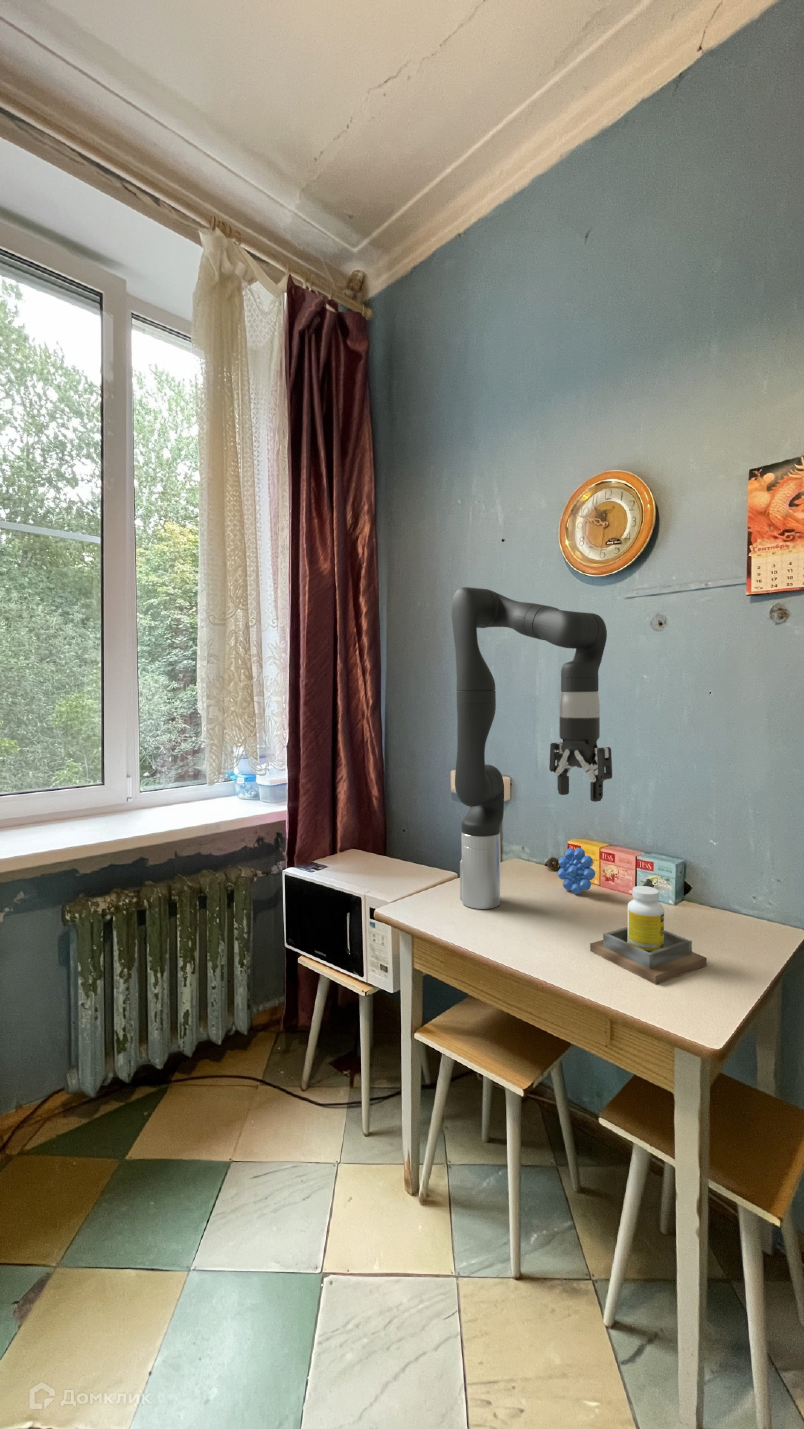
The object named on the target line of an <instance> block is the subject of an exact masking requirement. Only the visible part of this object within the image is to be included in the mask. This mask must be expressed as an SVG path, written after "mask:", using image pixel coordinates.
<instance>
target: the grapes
mask: <svg viewBox="0 0 804 1429" xmlns="http://www.w3.org/2000/svg"><path fill="white" fill-rule="evenodd" d="M593 860H594V859H593V858H592V856H590V855H586V852H585V850H584V849H583V847H577V848H575V849H574V848H571V847H569V848H567V849H566V850H565V852H564V855H562V856H561V857H560V858H559V860H558V865H559V866H560V868H559V870H558V872H557V876H558V878H559V879H560V880H563V882H562V886H563V889H565V890H566V891H571V892H572V894H574V895H576V894H577V895H580V894H581V893H582V892H583V891H585V892H586V891H589V890H590V889H591V886H592V880H594V878H595V876H596V871H595V869H594V868H592V866H593V864H594V863H593V862H594V861H593Z"/></svg>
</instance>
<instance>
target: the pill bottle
mask: <svg viewBox="0 0 804 1429" xmlns="http://www.w3.org/2000/svg"><path fill="white" fill-rule="evenodd" d="M631 895H632V897H633V899H632V900H630V901H629V902H628V903H627V927H628V940H627V943H629V944H632V945H634V946H636V947H638V948H640V949H642V950H645V951H647V952H652V951H655V950H658V949H661V948H664V930H665V909H664V907H663V904H661V903H660V902H659V901H658V900H659V899H660V891H659V889H658V888H655V887H651V886H646V885H637V886H633V887H632V894H631Z"/></svg>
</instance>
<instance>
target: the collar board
mask: <svg viewBox="0 0 804 1429" xmlns="http://www.w3.org/2000/svg"><path fill="white" fill-rule="evenodd" d="M602 938H603V939H601V940H597V941H593V942H592V943H591V942H590V944H589V950H590V952H591V953H593V952H594V953H593V954H595V955H597V956H600V957H601V958H602V959H605V960H607V961H610V962H611V963H613V964H615V965H617V966H619V967H621V968H622V969H624V970H627V971H629V972H631V973H632V974H635V975H637V976H639V977H640V978H642V979H644V980H646V981H648V982H650V983H653V984H654V985H658V984H660V983H663V982H666V981H668V980H671V979H674V978H677V977H679V976H682V975H684V974H687V973H690V972H692V971H693V972H694V971H695V970H698V969H699V970H700V969H701V968H704V967H707V959H708V958H707V957H706V956H704V955H701V954H699V953H697V952H694V951H692V949H693V948H692V947H693V945H692V944H693V942H692V940H690V939H687V938H685V937H682V936H680V935H677V934H676V933H672V932H670V931H667V930H665V929H664V948H661V949H658V950H655V951H652V952H647V951H645V950H642V949H640V948H638V947H636V946H634V945H632V944H629V943H627V940H628V926H625V927H623V928H620V929H615V930H612V931H608V932H604V933H603V936H602Z"/></svg>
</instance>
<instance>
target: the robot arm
mask: <svg viewBox="0 0 804 1429" xmlns="http://www.w3.org/2000/svg"><path fill="white" fill-rule="evenodd" d="M451 623H452V633H453V640H454V641H453V642H454V652H455V665H456V666H455V669H456V670H455V671H456V687H455V688H456V690H455V691H456V692H455V694H456V714H457V715H456V716H457V726H456V727H457V729H456V730H457V731H456V732H457V733H456V735H457V743H456V744H457V745H456V746H457V747H456V749H457V751H456V761H455V762H456V763H455V772H454V790H455V793H456V795H457V797H458V799H459V801H460V802H461V803H462V805H465V806H467V807H469V811H467V814H466V815H465V816H464V818H463V819H462V820H461V824H460V825H461V826H460V827H461V829H460V831H461V860H460V861H459V899H460V900H461V903H462V904H463V905H464V906H466V907H468V908H472V909H477V910H478V909H479V910H488V909H494V908H497V907H498V906H500V905H501V826H502V822H503V818H504V813H505V810H504V808H505V782H504V778H503V775H502V773H501V771H500V770H499V769H498V768H497V767H496V766H494V765H491V764H486V761H485V758H486V757H485V752H486V751H485V749H486V743H487V740H488V737H489V733H490V732H491V728H492V724H493V722H494V719H495V715H496V708H497V704H496V702H497V700H496V698H497V697H496V696H497V695H496V694H497V693H496V681H495V678H494V676H493V674H492V672H491V670H490V668H489V666H488V664H487V663H486V661H485V659H484V657H483V654H482V653H481V650H480V646H479V642H478V628H479V629H487V628H509V629H512V630H514V631H515V632H517V633H519V634H521V635H523V636H526V637H529V638H531V639H532V638H534V639H536V640H541V641H545V642H547V643H550V644H552V645H554V646H556V647H560V648H563V649H571V650H572V649H575V653H574V656H573V659H572V660H571V661H568V662H565V663H564V664H563V665H562V667H561V670H560V698H559V739H561V740H562V741H561V742H558V741H557V742H551V743H550V744H549V745H550V747H549V748H550V749H549V765H548V766H549V771H550V772H551V773H552V772H553V773H555V775H556V776H557V791H558V794H559V795H561V796H566V795H569V793H570V776H569V773H570V772H571V770H572V768H575V767H576V768H579V769H583V771H584V772H585V773H587V775H588V777H589V779H590V787H589V788H590V790H589V791H590V801H591V802H595V803H596V802H600V801H602V799H603V796H604V782H605V781H606V780H610V779H612V778H613V760H612V749H611V747H610V746H606V747H604V746H603V747H598V744H597V743H598V740H599V739H600V737H601V735H600V728H601V726H600V724H601V723H600V719H601V718H600V717H601V715H600V713H601V712H600V711H601V710H600V709H601V707H600V706H601V704H600V696H599V695H600V694H599V671H600V670H599V669H600V665H601V664H602V659H603V655H604V651H605V648H606V643H607V637H608V633H607V632H608V631H607V626H606V623H605V621H604V619H603V617H602V616H600V615H599V614H597V613H592V612H581V611H571V610H562V609H559V608H557V607H553V606H551V605H545V604H539V603H533V602H525V601H517V600H515V599H511V598H509V597H507V596H504V595H502V594H501V593H498V592H495V591H493V590H491V589H489V588H488V589H487V588H480V587H479V588H477V587H468V586H466V587H465V586H464V587H461V588H459V589H457V590H456V592H455V593H454V595H453V598H452V602H451Z"/></svg>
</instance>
